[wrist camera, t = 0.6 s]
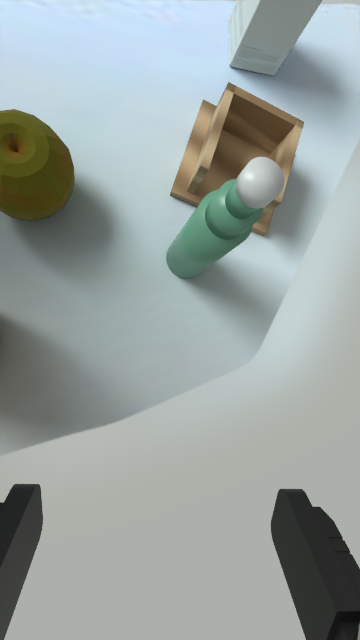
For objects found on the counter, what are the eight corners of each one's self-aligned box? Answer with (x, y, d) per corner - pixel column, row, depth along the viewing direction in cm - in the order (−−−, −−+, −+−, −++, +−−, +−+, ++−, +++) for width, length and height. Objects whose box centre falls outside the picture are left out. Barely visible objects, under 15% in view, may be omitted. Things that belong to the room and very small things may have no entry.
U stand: (201, 104, 45) (219, 61, 38) (288, 149, 48) (319, 116, 41) (169, 195, 43) (183, 166, 36) (263, 235, 46) (291, 216, 39)
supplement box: (275, 77, 48) (334, -15, 36) (227, 67, 46) (273, -33, 34) (274, 31, 49) (332, -75, 37) (227, 19, 47) (272, -96, 35)
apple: (-22, 157, 38) (-70, 83, 27) (63, 146, 40) (50, 73, 29) (1, 241, 38) (-37, 199, 27) (86, 224, 40) (81, 180, 29)
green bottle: (159, 249, 42) (215, 156, 22) (193, 232, 43) (276, 131, 23) (178, 285, 42) (251, 227, 22) (211, 267, 43) (310, 198, 23)
